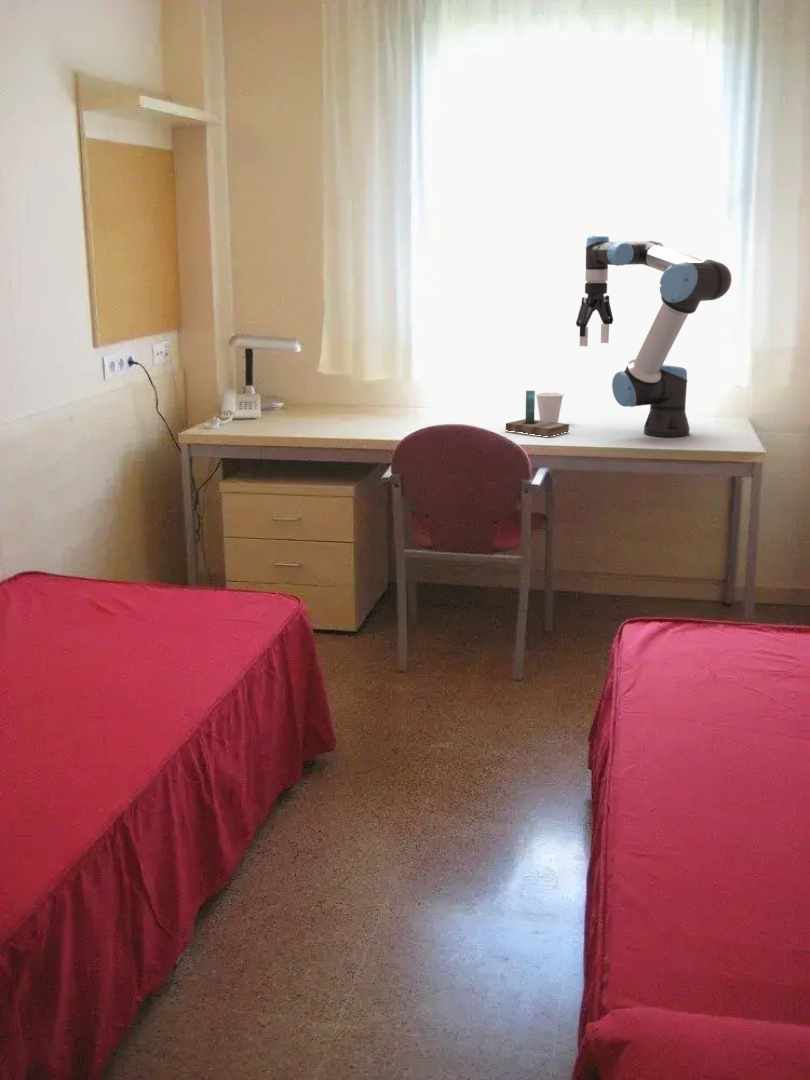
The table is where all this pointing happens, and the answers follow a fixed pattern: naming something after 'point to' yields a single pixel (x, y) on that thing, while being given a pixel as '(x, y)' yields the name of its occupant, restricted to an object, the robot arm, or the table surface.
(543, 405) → the cup
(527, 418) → the peg
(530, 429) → the hole plate
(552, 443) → the table surface
